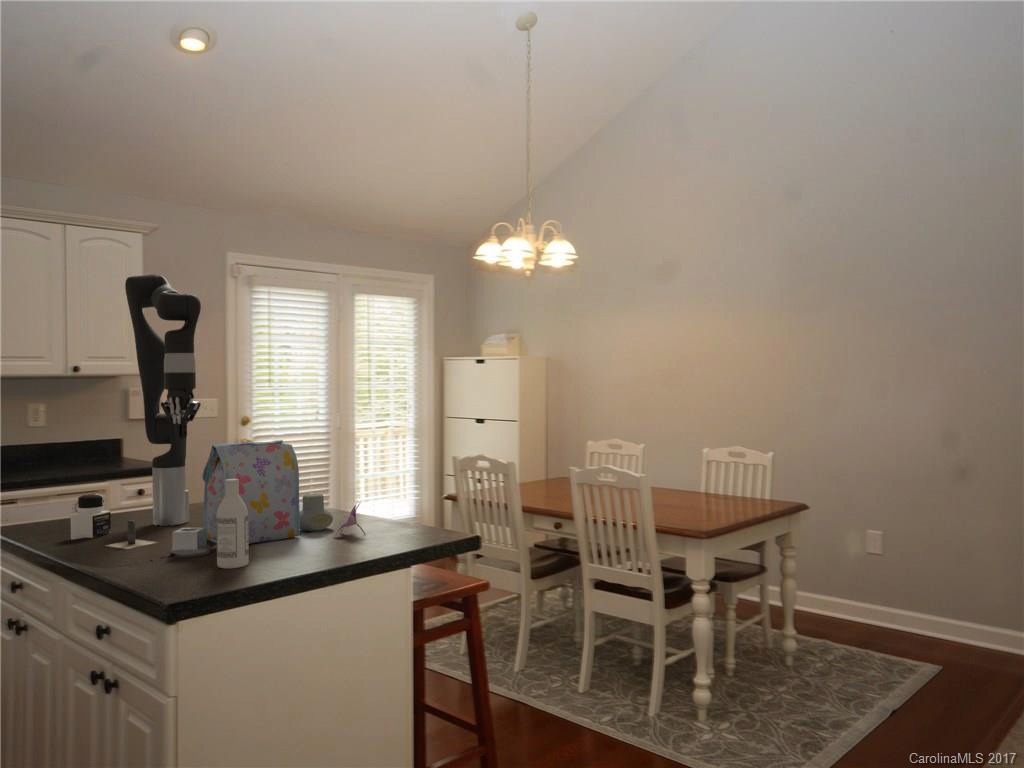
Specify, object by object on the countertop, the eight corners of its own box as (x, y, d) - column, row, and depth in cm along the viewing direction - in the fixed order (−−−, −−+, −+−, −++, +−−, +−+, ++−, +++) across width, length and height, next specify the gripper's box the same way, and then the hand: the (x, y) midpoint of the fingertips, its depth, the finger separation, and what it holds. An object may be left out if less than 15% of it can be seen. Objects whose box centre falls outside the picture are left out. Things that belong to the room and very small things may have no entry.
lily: (356, 533, 230) (339, 505, 229) (386, 520, 225) (369, 491, 224) (334, 554, 219) (316, 525, 218) (366, 541, 214) (347, 510, 213)
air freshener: (302, 534, 223) (302, 498, 223) (289, 530, 230) (288, 495, 230) (337, 529, 231) (337, 494, 231) (323, 525, 237) (323, 491, 237)
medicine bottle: (93, 541, 217) (92, 496, 217) (70, 540, 219) (69, 496, 218) (111, 536, 224) (110, 493, 224) (89, 535, 226) (88, 492, 225)
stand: (136, 543, 214) (136, 516, 214) (158, 546, 209) (157, 519, 209) (104, 549, 206) (104, 522, 206) (126, 552, 202) (126, 524, 202)
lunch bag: (275, 530, 231) (274, 437, 231) (305, 537, 219) (304, 440, 219) (198, 541, 215) (196, 442, 215) (226, 550, 203) (224, 446, 203)
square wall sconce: (182, 545, 202) (182, 527, 202) (206, 545, 203) (206, 527, 202) (172, 550, 196) (172, 532, 196) (197, 550, 197) (197, 531, 196)
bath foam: (238, 560, 191) (237, 477, 191) (254, 565, 187) (253, 479, 186) (211, 566, 186) (210, 480, 186) (227, 570, 181) (226, 482, 181)
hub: (193, 548, 206) (192, 529, 206) (217, 552, 201) (216, 532, 201) (162, 555, 198) (162, 535, 198) (186, 559, 193) (186, 538, 193)
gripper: (209, 370, 206) (210, 438, 207) (175, 371, 213) (176, 436, 213) (184, 370, 200) (186, 440, 200) (150, 371, 206) (151, 438, 207)
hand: (181, 438), depth 207 cm, fingers closed
